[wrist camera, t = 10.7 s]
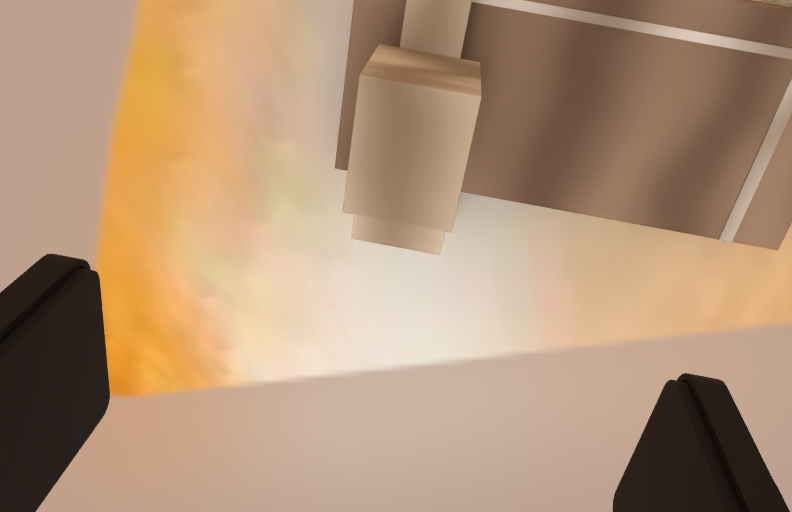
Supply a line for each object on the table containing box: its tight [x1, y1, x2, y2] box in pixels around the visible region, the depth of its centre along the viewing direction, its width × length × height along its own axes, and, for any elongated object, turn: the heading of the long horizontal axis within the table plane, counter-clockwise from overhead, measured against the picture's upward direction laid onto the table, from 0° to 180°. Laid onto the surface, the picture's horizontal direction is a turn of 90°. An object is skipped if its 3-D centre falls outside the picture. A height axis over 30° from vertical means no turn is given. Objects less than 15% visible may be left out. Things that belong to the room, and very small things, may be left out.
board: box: [335, 0, 792, 250], centre depth 29 cm, size 21×10×2 cm, turn 81°
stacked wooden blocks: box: [343, 0, 481, 255], centre depth 27 cm, size 4×11×9 cm, turn 171°
